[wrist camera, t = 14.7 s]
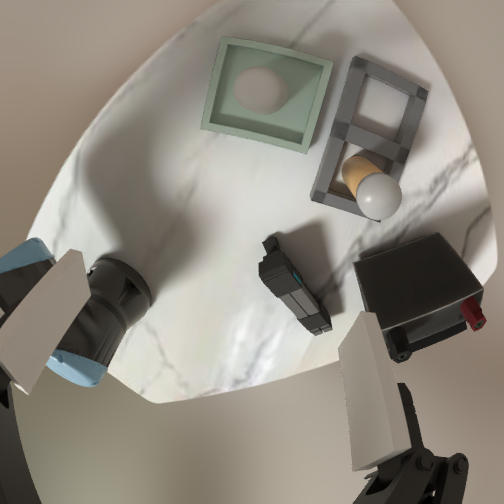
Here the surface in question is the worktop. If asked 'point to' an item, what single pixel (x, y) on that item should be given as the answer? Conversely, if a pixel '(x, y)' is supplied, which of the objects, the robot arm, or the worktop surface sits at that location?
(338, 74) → the worktop surface
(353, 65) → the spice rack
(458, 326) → the voltmeter
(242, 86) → the salt shaker
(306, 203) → the worktop surface
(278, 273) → the gun
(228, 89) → the tray
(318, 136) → the worktop surface
